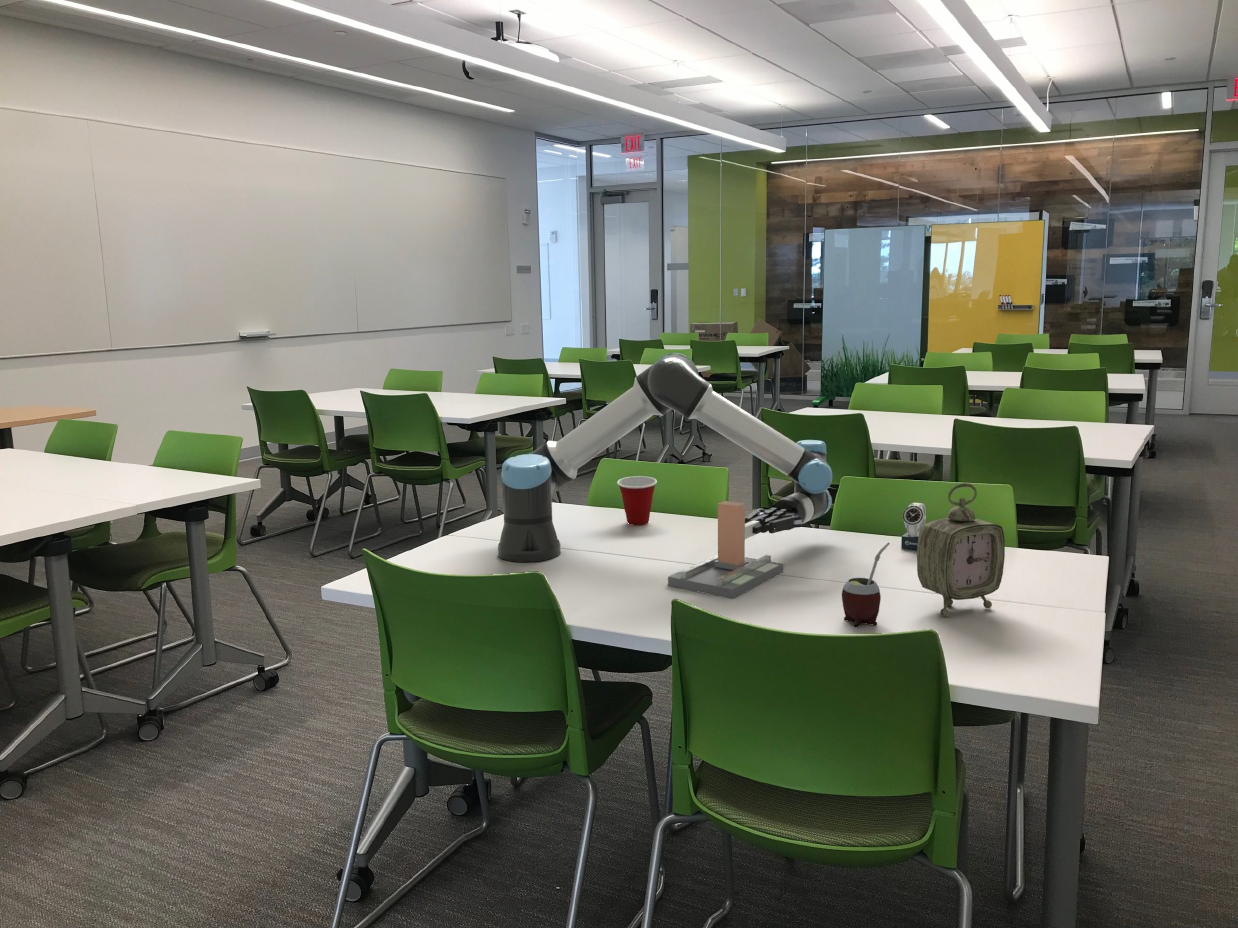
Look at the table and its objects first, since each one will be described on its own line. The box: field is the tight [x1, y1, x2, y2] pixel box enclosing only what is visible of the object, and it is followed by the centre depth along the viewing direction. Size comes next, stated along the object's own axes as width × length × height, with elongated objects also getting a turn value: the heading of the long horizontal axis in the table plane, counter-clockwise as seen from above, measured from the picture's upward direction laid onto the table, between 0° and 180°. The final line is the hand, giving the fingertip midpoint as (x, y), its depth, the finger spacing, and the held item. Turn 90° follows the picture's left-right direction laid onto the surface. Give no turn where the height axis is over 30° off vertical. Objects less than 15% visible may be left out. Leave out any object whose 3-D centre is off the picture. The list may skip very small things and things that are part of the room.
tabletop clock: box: [916, 482, 1006, 618], centre depth 183 cm, size 14×9×25 cm, turn 114°
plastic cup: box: [616, 475, 658, 526], centre depth 257 cm, size 11×11×12 cm
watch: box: [900, 502, 927, 552], centre depth 227 cm, size 6×8×11 cm
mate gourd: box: [841, 541, 891, 628], centre depth 178 cm, size 8×8×15 cm
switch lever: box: [714, 500, 749, 570], centre depth 207 cm, size 6×4×14 cm, turn 53°
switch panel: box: [667, 554, 785, 600], centre depth 207 cm, size 16×22×4 cm
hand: (741, 532), depth 207 cm, fingers closed
